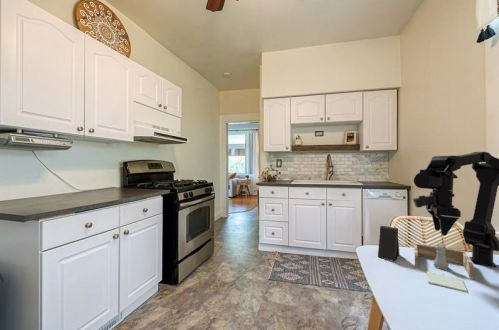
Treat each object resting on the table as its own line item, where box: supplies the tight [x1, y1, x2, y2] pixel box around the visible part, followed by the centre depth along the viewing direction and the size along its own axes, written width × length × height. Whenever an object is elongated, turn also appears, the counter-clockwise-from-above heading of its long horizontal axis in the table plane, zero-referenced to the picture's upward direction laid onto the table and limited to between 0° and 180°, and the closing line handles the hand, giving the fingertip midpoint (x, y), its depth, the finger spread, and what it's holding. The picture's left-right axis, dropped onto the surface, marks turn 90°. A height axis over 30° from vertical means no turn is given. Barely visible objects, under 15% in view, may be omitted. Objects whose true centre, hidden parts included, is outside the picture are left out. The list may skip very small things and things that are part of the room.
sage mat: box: [426, 271, 468, 293], centre depth 73 cm, size 9×9×1 cm
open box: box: [414, 243, 475, 280], centre depth 85 cm, size 16×16×4 cm
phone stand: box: [377, 225, 400, 262], centre depth 94 cm, size 9×6×12 cm, turn 136°
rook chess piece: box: [433, 244, 450, 271], centre depth 84 cm, size 4×4×8 cm
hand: (440, 232), depth 83 cm, fingers open, 9 cm apart
